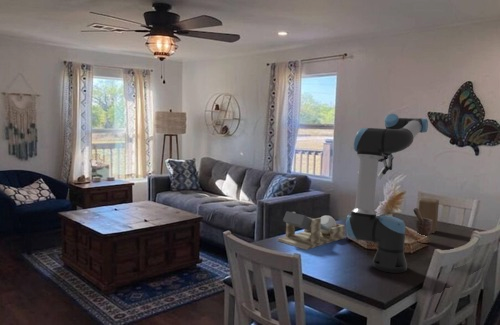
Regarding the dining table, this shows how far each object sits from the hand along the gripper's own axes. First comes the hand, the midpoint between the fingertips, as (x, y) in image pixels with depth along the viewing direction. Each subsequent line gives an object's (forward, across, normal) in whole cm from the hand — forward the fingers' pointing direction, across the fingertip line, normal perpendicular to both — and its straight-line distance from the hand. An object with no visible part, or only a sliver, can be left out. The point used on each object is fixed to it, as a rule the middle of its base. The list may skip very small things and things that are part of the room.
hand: (368, 176), depth 225 cm
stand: (+41, +21, -12) cm, 48 cm away
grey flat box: (+42, +20, -2) cm, 46 cm away
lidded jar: (+28, +19, -9) cm, 35 cm away
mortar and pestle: (+6, -17, -47) cm, 50 cm away
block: (-12, -5, -66) cm, 67 cm away
